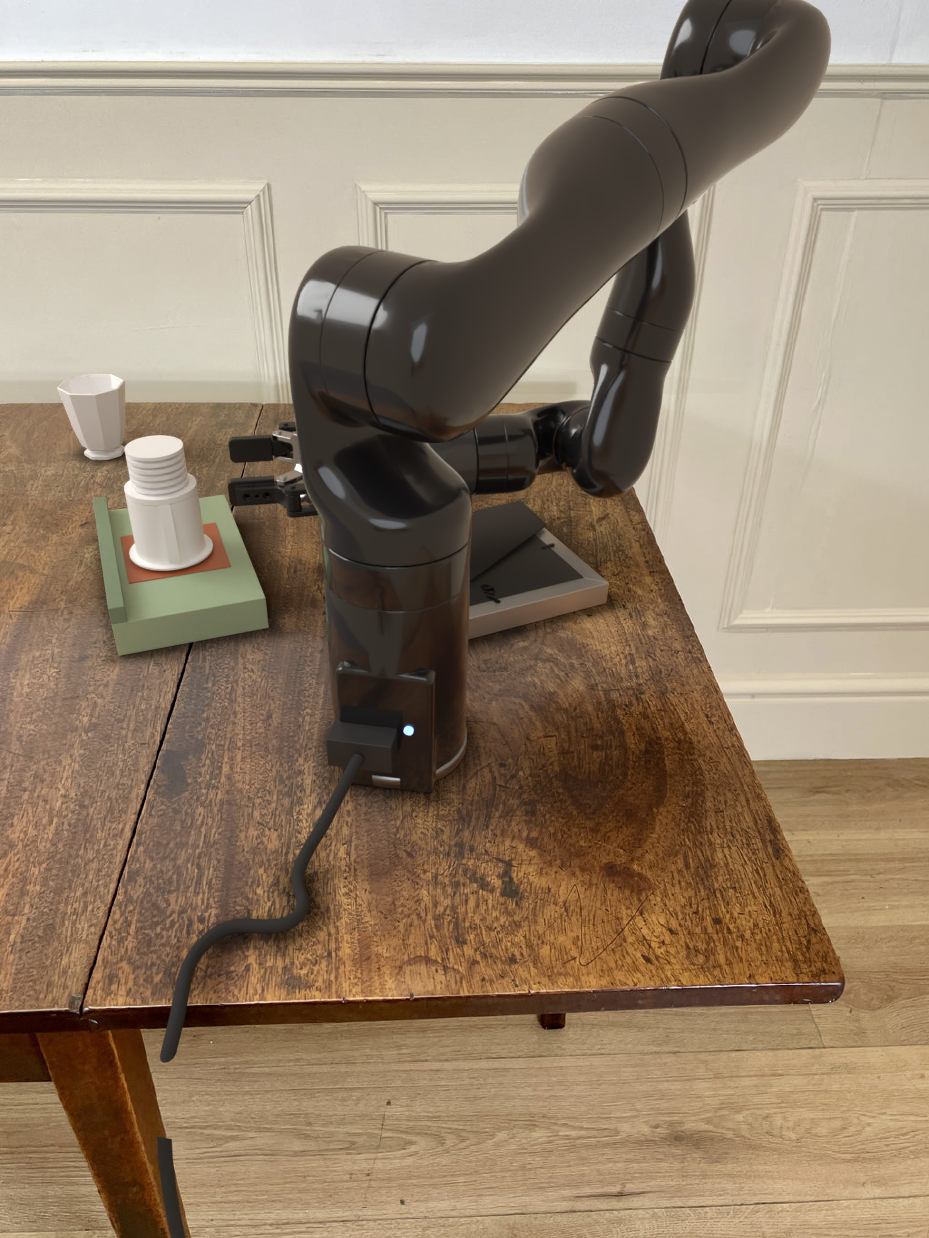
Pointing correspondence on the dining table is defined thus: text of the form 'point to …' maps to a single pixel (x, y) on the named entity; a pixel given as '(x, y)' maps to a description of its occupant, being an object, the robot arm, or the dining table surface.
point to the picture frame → (524, 572)
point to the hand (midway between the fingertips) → (229, 470)
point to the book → (179, 585)
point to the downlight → (163, 506)
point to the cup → (96, 413)
